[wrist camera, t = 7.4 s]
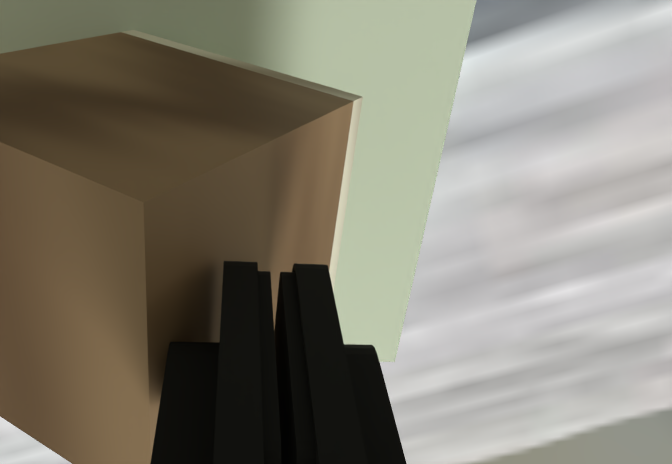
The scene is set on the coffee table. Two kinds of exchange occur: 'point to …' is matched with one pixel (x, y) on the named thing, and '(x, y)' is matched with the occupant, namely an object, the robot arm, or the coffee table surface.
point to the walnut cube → (146, 220)
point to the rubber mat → (333, 71)
